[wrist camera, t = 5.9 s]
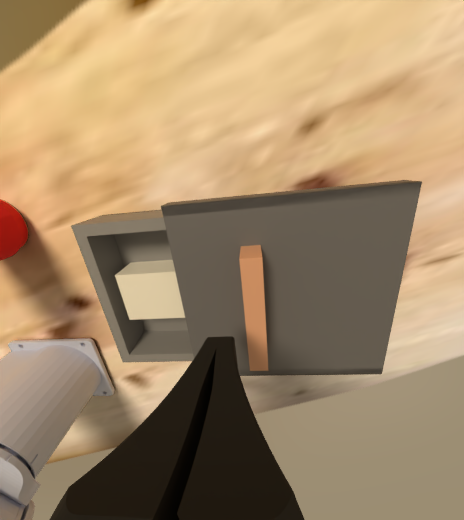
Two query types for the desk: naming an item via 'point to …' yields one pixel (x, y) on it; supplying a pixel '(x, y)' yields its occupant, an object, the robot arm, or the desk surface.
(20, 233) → the beverage can
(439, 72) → the desk surface
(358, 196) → the lid
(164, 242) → the base
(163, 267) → the contents block
